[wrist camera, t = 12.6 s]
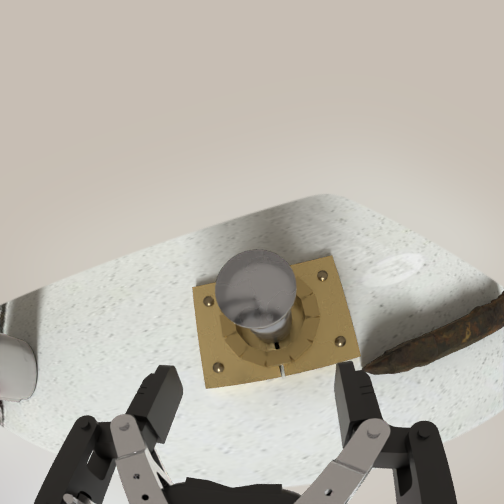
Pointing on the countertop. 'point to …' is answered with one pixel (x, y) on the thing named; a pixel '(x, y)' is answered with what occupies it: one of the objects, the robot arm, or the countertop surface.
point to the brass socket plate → (292, 347)
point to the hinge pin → (258, 293)
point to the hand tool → (441, 340)
